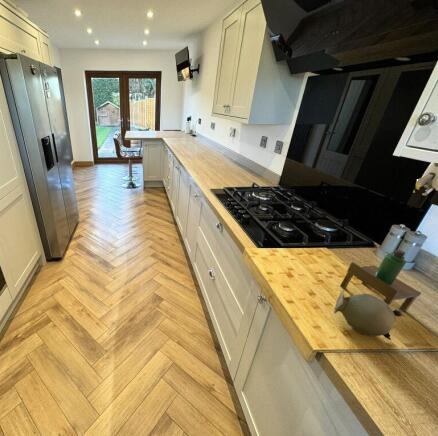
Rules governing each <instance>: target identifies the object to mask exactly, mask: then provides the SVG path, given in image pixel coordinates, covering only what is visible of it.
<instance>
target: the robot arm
mask: <svg viewBox="0 0 438 436" xmlns="http://www.w3.org/2000/svg"><path fill="white" fill-rule="evenodd" d="M415 181H416V182H415V186H414V189H413V190H412V194H411V196H410V198H409V199H408V201H407V203H406V205H407V206H409V207H413V208H416V209H421V208H422V206H424V203H425V202H426V200H427V198H428V194H430V193H431V192H432V191H433V190H435V193H434V195H433V196H432V198H431V200H430V201H429V204H431V205H434V206H436V207H438V163H435V162H432V161H431V163H430V164H429V165H428V166H427V168H426V170H425V171H424V173H423V174H422V176H421V177H420V178H418V179H416V180H415Z"/></svg>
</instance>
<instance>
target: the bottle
mask: <svg viewBox="0 0 438 436" xmlns="http://www.w3.org/2000/svg"><path fill="white" fill-rule="evenodd" d="M405 255H406V252H405V251H404V250H401V249H395V250H394V252H390V254H388V253H387V254H386V255H385V256H384V258H383V259H382V261H381V263H380V264H379V266H378V269H377V271H376V272H375V274H374V275H375V276H376V277H378V278H380V279H381V280H383V281H384V282H386V283H388V284H389V285H391V284H392V283H393V282H394V280H395V279H396V278H398V276H399V274H400V273H401V271H402V270H403V268H404V267H405V266H406V264H407V260H405V259H406V257H405Z"/></svg>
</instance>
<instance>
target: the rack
mask: <svg viewBox="0 0 438 436" xmlns="http://www.w3.org/2000/svg"><path fill="white" fill-rule="evenodd" d="M378 268H379V266H376V265H365V266H361V265H358V264H357V263H355V262H351V263H350V264H349V267H348V268H347V270H346V274H345V276H344V278H343V280H342V281H341V283H340V285H339V287H340V288H341V289H342V290H343V289H344V290H345V289H347V288H348V286H349V284H350V282H351V281H352V278H353V277H355V278H356V279H357V280H359V281H361V284H362V285H363V284H364V285H363V286H368V287H369V288H371V289H372V290H374V291H375V292H377V293H378V294H380V295H381V296H383V297H384V299H383V301H384V302H385V303H387V304H388V305H389V306H391V304H392V303H393V301H397V300H404V299H405V300H404V301H403V302H402V304H401V305H400V306H399V308H398V309H399V311H401V312H402V313H403V312H407V311H408V310H409V308H410V307H411V305H412V304H413V303H414V302H415V300H416V299H417V298H418V297H420V296H421V294H422V292H420V291H418V289H415V288H414V287H412V286H410V285H409V284H407V283H405V282H403V281H402V280H400V279H398V277H396V279H395V280H394V282H393V283H392V284H391V285H389V284H388V283H386V282H384V281H383V280H381V279H380V278H378V277H376V276H375V275H374V274H375V272H376V271H377V269H378Z"/></svg>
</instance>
